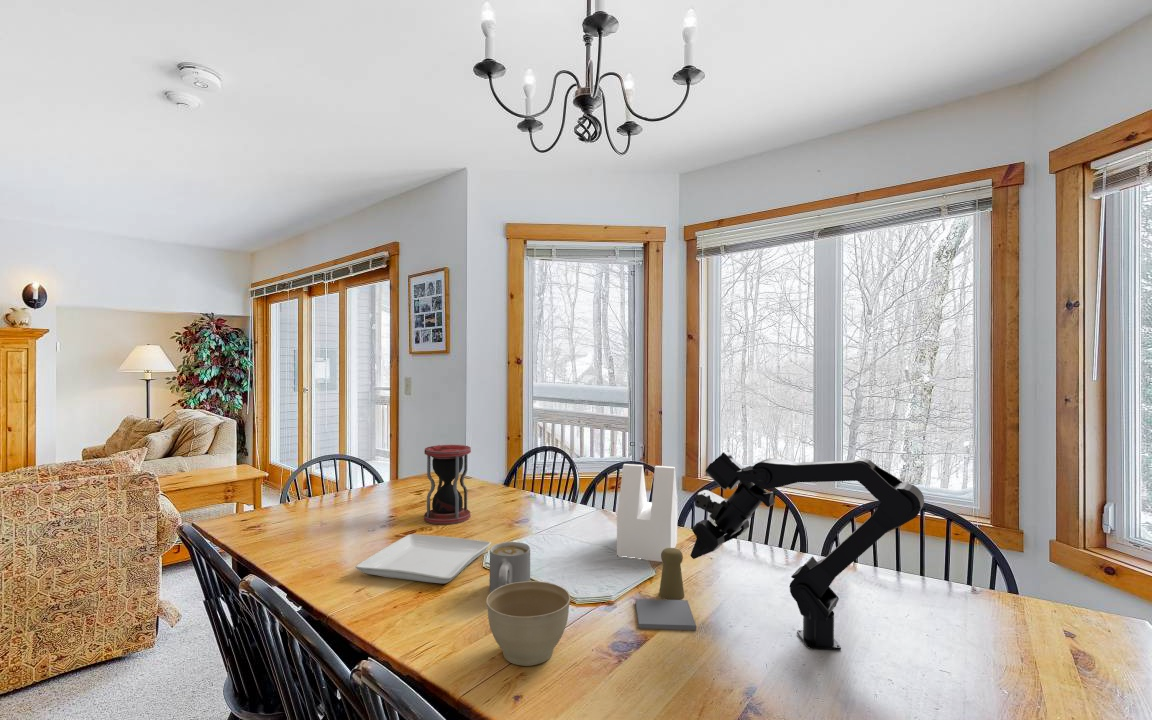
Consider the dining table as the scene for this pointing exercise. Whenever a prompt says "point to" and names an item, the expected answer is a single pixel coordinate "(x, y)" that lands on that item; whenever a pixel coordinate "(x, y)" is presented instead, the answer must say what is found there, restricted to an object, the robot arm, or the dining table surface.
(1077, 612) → the dining table surface
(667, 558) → the cork
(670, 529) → the white slotted block
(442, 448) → the hourglass
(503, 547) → the coffee mug
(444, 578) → the square plate
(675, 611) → the charcoal mat
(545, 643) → the planter bowl
